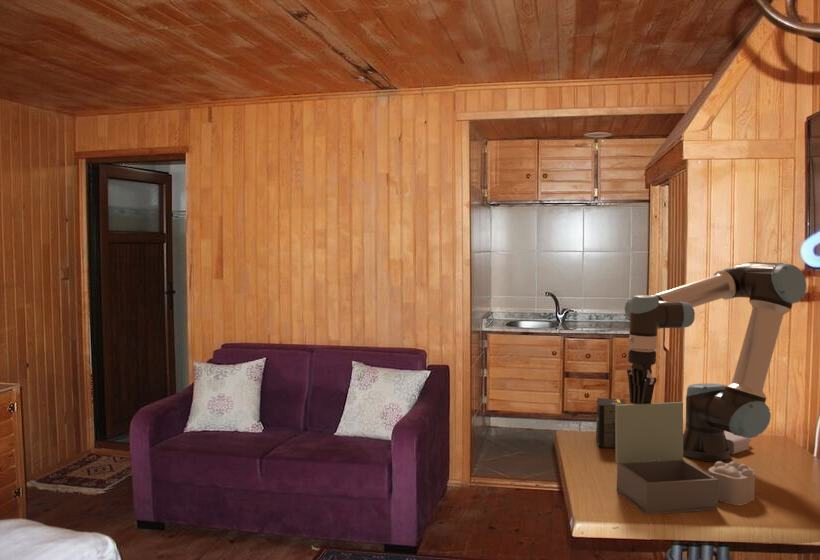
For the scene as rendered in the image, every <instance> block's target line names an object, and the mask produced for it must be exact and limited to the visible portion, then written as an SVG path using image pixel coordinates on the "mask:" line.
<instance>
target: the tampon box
mask: <svg viewBox="0 0 820 560" xmlns="http://www.w3.org/2000/svg"><path fill="white" fill-rule="evenodd" d="M622 404H626V402H625V399H623V398H619V399H618V398H603V397H597V401H596V430H595V433H596V435H595V438H596V439H595V440H596V443H597V446H598V447H599V448H604V449H605V448H606V449H615V405H622Z"/></svg>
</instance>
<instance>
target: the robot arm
mask: <svg viewBox="0 0 820 560" xmlns="http://www.w3.org/2000/svg"><path fill="white" fill-rule="evenodd" d="M806 292H807V280H806V277H805V276H804V273H803V272H802V270H801V269H800V268H799V267H798V266H796V265H795V264H790V263H785V262H784V263H783V262H758V261H752V262H751V261H750V262H749V261H748V262H744V263H739V264H737V265H734V266H730V267H727V268H724V269H721V270H718V271H716V272H715V273H713V275H712V276H708V277H705V278H703V279H699V280H696V281H692V282H690V283H686V284H682V285H680V286H677V287H674V288H672V289H668V290H664V291H660V292H659V293H655V294H651V295H649V294H647V295H645V294H644V295H640V294H639V295H634V296H632V297H631V298H629V299H628V300H627V301H626V302H625V306H624V313H625V315H626V317H627V318H628V319H629V336H628V337H629V338H627V339H628V347H629V349H628V356H627V358H628V359H627V361H628V362H629V363H630V364H631V369H628V368H627V369H626V374H627V377H628V378H627V379H628V389H629V391H628V392H629V403H630V404H647V403H652V401H653V394H654V389H655V385H656V383H657V378H656V377H653V375H652V374H653V373H652V366H653V365H656V362H657V352H656V350H657V349H658V347H657V346H658V345H657V343H658V329H682V328H689V327H691V326H692V325H693V323H694V321H695V317H696V316H695V314H696V313H695V309H694V308H696V307H699V306H702V305H705V304H708V303H711V302H714V301H718V300H720V299H721V300H722V299H723V300H730V299H734V298H746V299H747V298H748V299H749V300H748V302H749V303H750V305H751V307H752V310H751V314H750V317H749V319H748V323H747V328H746V331H745V335H744V338H743V342H742V344H741V345H742V346H741V350H740V353H739V356H738V360H737V363H736V366H735V369H734V374H733V378H732V381H731V382H730V383H728V384H726V385H725V384H723V383H710V382H709V383H692V384H689V385H688V386H687V387H686V388H687V389H686V396H685V428H684V430H683V457H684V456H685V457H686V458H687V457H688V458H689V459H693V460H698V461H703V462H718V461H721V462H723V461H727V460H729V459H730V455H731V454H730V450H729V446H728V443H727V440H726V437H725V433H724V431H727V432H730V433H733V434H734V435H737V436H742V437H745V438H749V439H753V438H756V437H758V436H759V435H761V434H763V433H764V432H765V431H766V429H768V426H769V424H770V422H771V419H772V418H771V417H772V416H771V410H770V407H769V406H768V405H767V404H766V401H767V395H766V394H765V393H764V387H765V384H766V380H767V376H768V372H769V368H770V364H771V361H772V359H773V356H774V355H773V354H774V350H775V347H776V343H777V339H778V337H779V332H780V328H781V325H782V322H783V319H784V315H786V314H787V313H790V312H791V310H792V308H793V305H794V304H797V303H799V302H800V301H801V300H802V299H804V296H805V295H806Z"/></svg>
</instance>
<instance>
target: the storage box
mask: <svg viewBox="0 0 820 560" xmlns="http://www.w3.org/2000/svg"><path fill="white" fill-rule="evenodd" d="M616 463H617V462H616ZM616 466H617V469H616V492H617V491H618V493H619V494H620V495H621V496H622V497H623V496H624V497H623V498H625V499H626V500H627V501H628V502H629V503H631V504H632V505H633V506H635V507H636V508H637V509H638V510H639V511H641V512H642V513H643V514H644V515H646V516H648V515H661V514H673V513H674V514H675V513H687V512H688V513H691V512H705V511H704V510H706V511H717V510H718V502H719V500H718V479H716V478H715V477H713V476H711V475H710V474H708V472H706V471H704V470H702V469H701V468H699V467H698V466H696V465H695V464H693V463H691V462H689V461H687V460H686V459H684V458H683V459H677V460H659V461H642V462H624V463H617V464H616Z"/></svg>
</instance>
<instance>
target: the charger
mask: <svg viewBox="0 0 820 560" xmlns="http://www.w3.org/2000/svg"><path fill="white" fill-rule="evenodd" d="M724 433H725V437H726V440H727V443H728V446H729V450H730V455H735V454H739V453H741V452H746V451H748V450H750V443H751V442H752V439H751V438H745V437H742V436H737V435H734V434H733V433H730V432H727V431H725V430H724Z"/></svg>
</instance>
